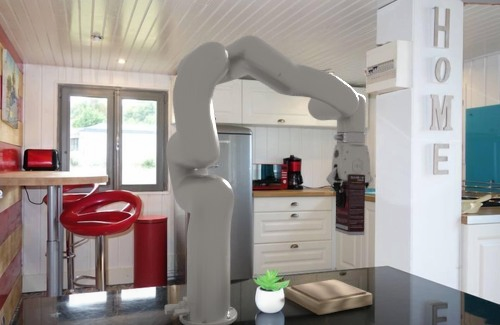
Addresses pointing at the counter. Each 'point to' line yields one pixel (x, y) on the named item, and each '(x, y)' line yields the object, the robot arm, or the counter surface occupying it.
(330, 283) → the oak stand
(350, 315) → the counter surface
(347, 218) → the supplement box
